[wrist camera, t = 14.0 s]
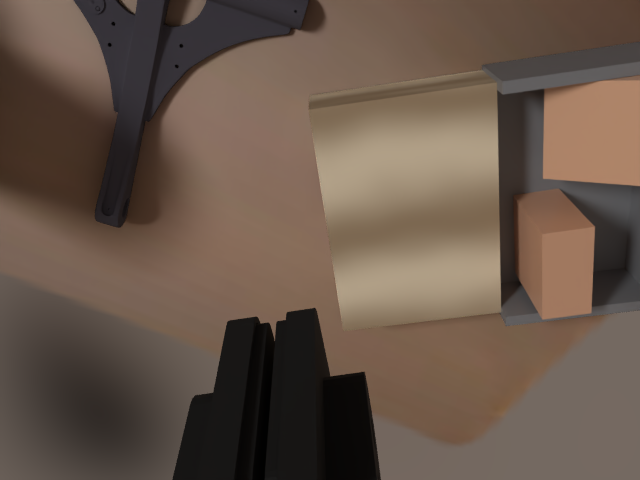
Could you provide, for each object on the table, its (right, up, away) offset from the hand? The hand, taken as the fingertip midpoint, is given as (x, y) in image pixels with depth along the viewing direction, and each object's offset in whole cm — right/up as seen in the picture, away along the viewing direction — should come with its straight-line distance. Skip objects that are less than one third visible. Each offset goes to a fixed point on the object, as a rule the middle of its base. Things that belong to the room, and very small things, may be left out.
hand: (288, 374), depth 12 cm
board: (+5, +5, +23) cm, 24 cm away
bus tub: (+14, +6, +22) cm, 27 cm away
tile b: (+12, +2, +21) cm, 24 cm away
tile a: (+14, +8, +17) cm, 23 cm away
